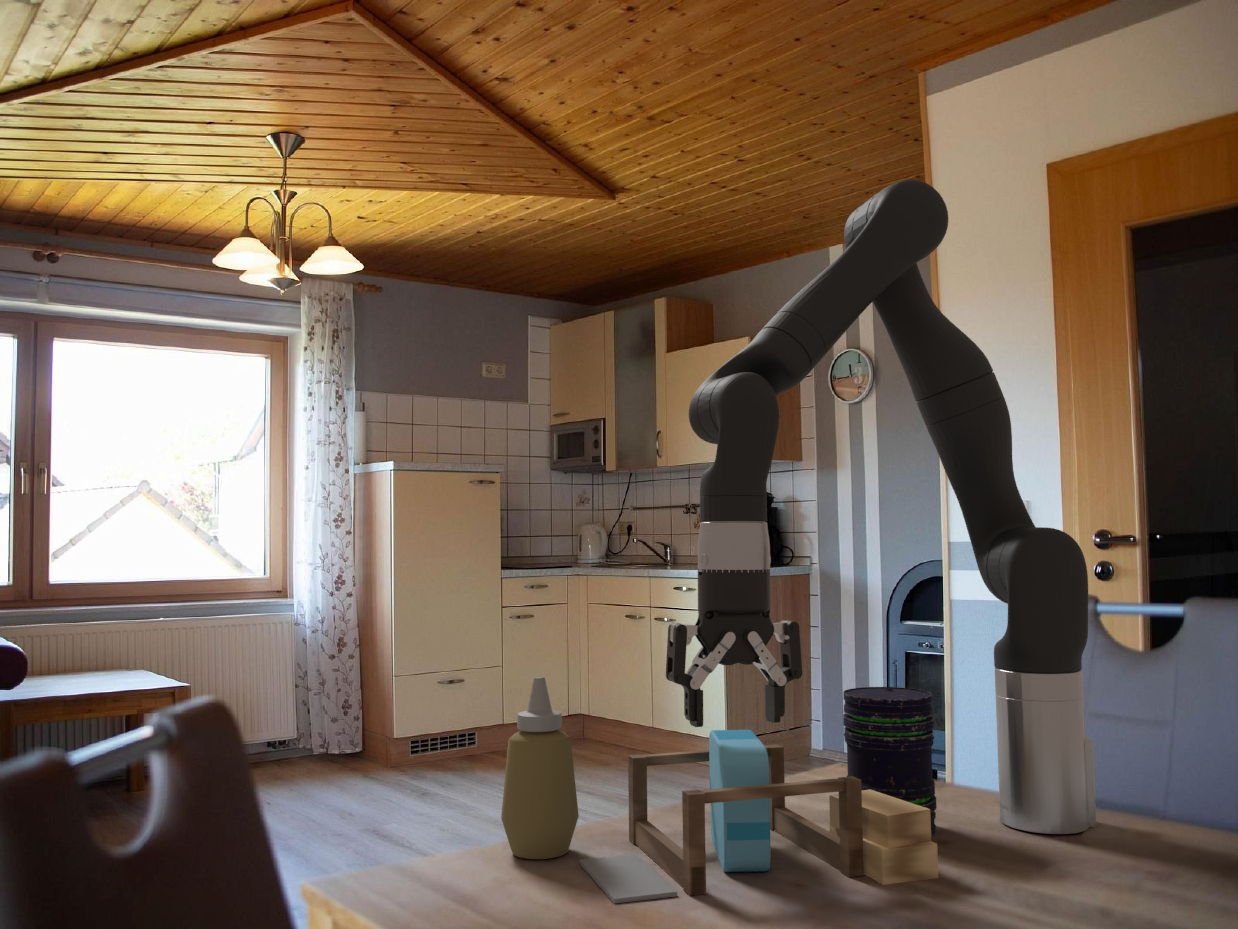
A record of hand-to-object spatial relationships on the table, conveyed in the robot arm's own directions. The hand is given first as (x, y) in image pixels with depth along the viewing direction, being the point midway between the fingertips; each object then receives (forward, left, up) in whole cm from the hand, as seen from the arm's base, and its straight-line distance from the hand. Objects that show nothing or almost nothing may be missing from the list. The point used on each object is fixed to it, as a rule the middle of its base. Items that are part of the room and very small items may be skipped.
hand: (734, 723), depth 107 cm
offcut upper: (-12, +7, -10) cm, 17 cm away
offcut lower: (-12, +7, -14) cm, 20 cm away
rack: (0, 0, -13) cm, 13 cm away
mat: (+13, +3, -13) cm, 19 cm away
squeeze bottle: (+19, -8, -14) cm, 24 cm away
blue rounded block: (0, 0, -14) cm, 14 cm away
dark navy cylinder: (-20, -4, -14) cm, 25 cm away
